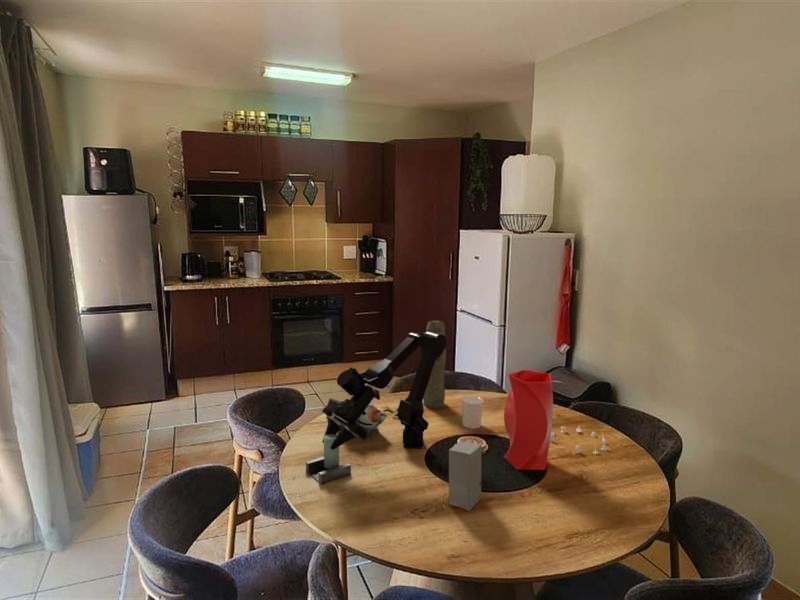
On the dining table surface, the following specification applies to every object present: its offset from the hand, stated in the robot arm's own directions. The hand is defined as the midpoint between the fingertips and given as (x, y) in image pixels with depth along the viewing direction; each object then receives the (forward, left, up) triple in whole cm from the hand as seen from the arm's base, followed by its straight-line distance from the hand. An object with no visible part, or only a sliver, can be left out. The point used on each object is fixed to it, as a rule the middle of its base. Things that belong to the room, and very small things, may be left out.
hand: (327, 446), depth 153 cm
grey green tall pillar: (-32, -60, -9) cm, 69 cm away
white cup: (-46, -40, -9) cm, 62 cm away
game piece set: (-82, -29, -9) cm, 88 cm away
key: (-17, -48, -9) cm, 52 cm away
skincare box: (-40, +12, -9) cm, 43 cm away
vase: (-61, -13, -9) cm, 63 cm away
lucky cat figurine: (-6, -30, -9) cm, 32 cm away
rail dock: (0, 0, -9) cm, 9 cm away
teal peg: (-1, -1, -7) cm, 7 cm away
